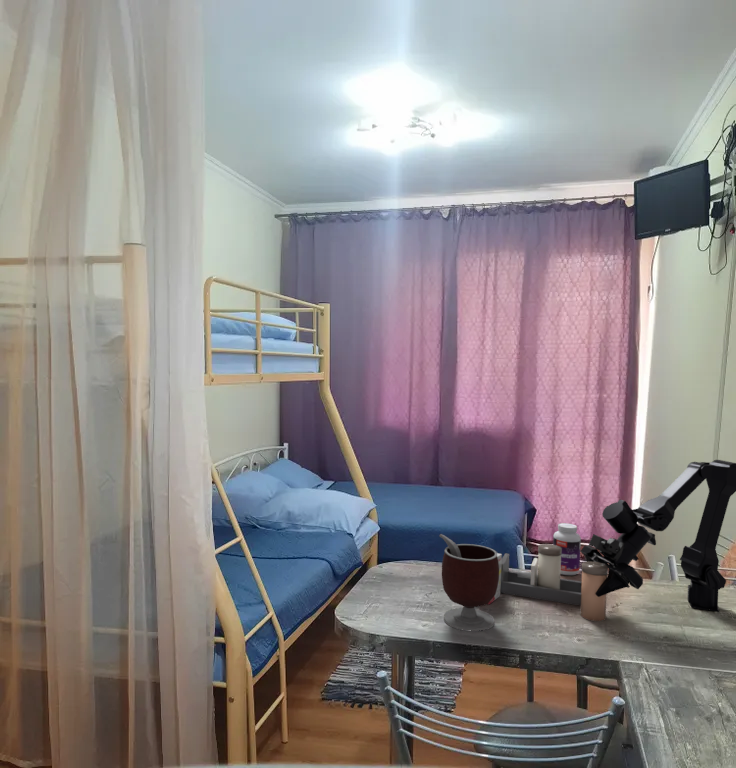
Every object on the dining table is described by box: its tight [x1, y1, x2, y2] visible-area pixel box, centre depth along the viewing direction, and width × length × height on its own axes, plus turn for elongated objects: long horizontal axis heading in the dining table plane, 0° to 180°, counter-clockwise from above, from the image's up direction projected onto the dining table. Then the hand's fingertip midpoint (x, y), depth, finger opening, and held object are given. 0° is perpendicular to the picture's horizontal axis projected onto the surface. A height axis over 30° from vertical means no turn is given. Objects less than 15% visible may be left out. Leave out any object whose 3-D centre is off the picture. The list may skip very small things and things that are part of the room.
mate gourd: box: [439, 533, 499, 632], centre depth 151 cm, size 16×14×20 cm
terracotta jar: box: [580, 561, 609, 622], centre depth 155 cm, size 6×6×13 cm
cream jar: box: [537, 543, 562, 590], centre depth 170 cm, size 6×6×13 cm
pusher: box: [516, 557, 538, 586], centre depth 172 cm, size 5×7×8 cm
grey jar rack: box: [500, 553, 582, 607], centre depth 170 cm, size 25×10×8 cm, turn 68°
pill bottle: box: [552, 522, 582, 576], centre depth 188 cm, size 8×8×14 cm
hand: (589, 590), depth 154 cm, fingers closed on terracotta jar, 6 cm apart
